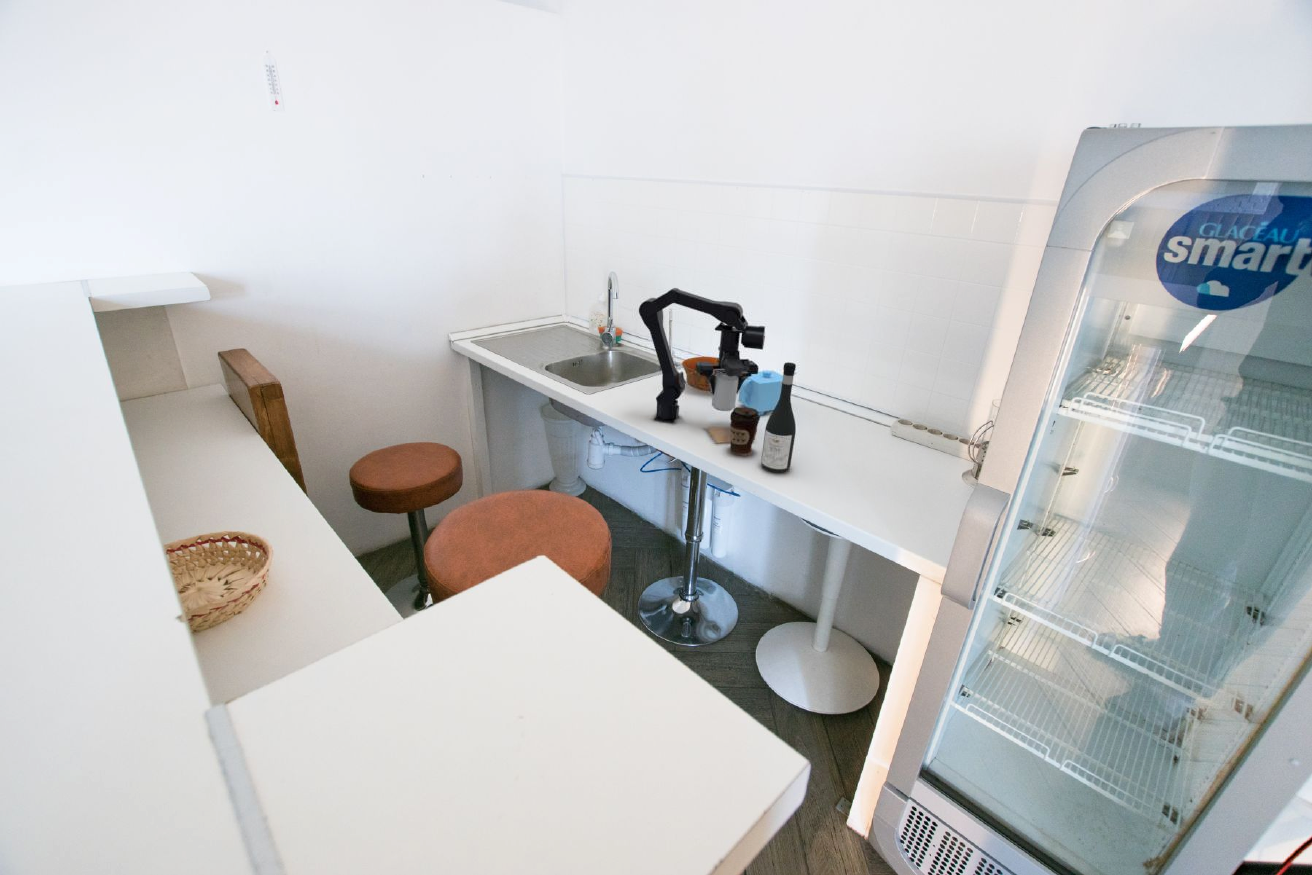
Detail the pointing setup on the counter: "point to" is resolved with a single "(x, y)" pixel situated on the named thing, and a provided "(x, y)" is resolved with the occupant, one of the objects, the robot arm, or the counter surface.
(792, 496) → the counter surface
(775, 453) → the wine bottle
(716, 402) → the can
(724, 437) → the coaster
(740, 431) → the coffee cup
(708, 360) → the bowl
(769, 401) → the teapot
